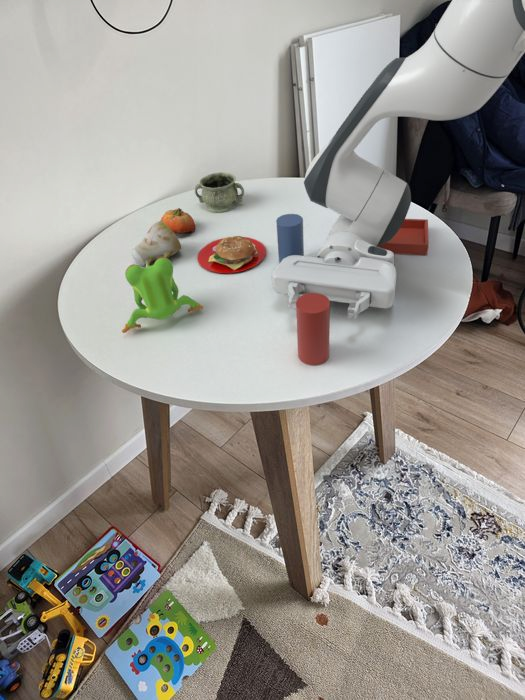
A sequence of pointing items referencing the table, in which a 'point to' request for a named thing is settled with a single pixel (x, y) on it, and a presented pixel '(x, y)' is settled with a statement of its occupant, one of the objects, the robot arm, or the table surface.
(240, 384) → the table surface
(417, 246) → the red tray
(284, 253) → the blue canister
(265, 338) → the table surface
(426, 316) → the table surface
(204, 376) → the table surface
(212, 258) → the hamburger
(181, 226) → the tomato
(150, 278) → the toy
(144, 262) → the mug
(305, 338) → the red canister
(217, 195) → the vessel
